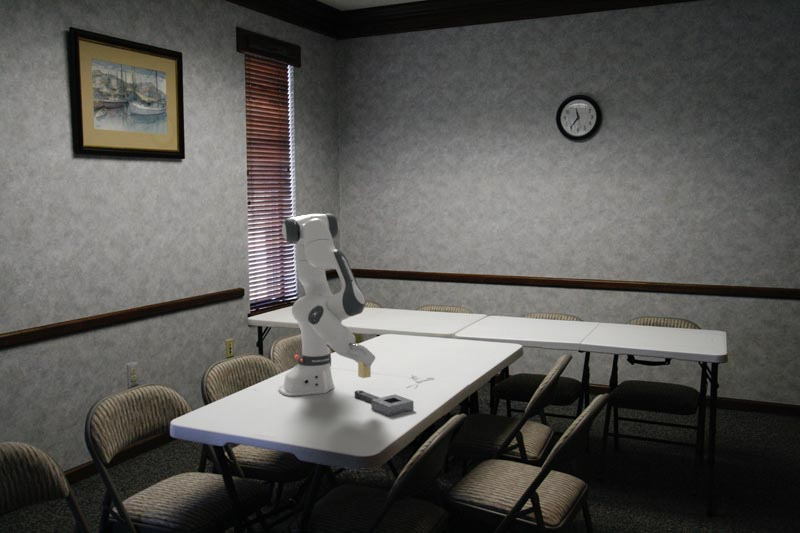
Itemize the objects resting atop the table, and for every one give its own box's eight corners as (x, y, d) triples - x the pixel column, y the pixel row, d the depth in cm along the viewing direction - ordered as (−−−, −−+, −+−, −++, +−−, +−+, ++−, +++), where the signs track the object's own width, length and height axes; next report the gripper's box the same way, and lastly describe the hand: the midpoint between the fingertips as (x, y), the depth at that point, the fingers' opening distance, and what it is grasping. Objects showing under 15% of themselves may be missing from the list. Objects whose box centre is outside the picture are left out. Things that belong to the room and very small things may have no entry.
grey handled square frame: (389, 416, 246) (389, 406, 246) (344, 398, 269) (344, 389, 269) (413, 410, 253) (413, 400, 252) (368, 393, 276) (368, 384, 275)
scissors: (435, 376, 298) (422, 388, 279) (435, 378, 298) (422, 390, 280) (411, 375, 302) (397, 386, 283) (411, 376, 302) (397, 388, 283)
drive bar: (363, 378, 250) (363, 356, 249) (358, 376, 253) (358, 354, 252) (370, 376, 252) (370, 355, 251) (365, 374, 255) (365, 353, 254)
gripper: (364, 339, 238) (387, 363, 245) (332, 330, 254) (355, 352, 261) (354, 354, 236) (377, 377, 243) (322, 343, 252) (345, 365, 259)
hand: (365, 364), depth 252 cm, fingers closed on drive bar, 3 cm apart
